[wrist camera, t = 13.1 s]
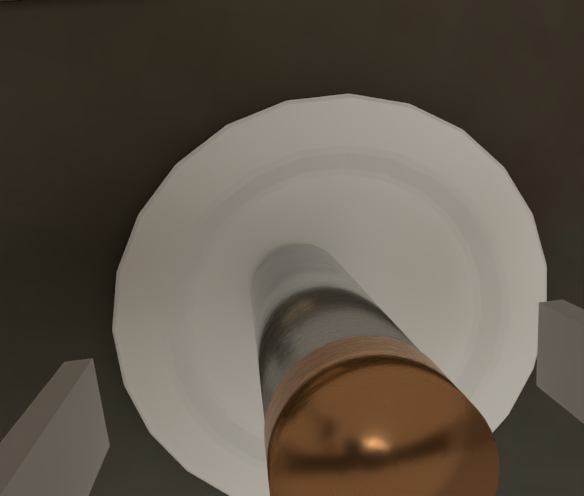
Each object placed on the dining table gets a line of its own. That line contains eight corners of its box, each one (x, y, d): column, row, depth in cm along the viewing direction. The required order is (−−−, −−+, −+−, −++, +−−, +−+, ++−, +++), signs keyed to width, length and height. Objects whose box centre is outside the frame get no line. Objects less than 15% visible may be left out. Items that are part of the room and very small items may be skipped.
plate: (604, 306, 26) (630, 318, 24) (325, 560, 27) (331, 587, 26) (345, -7, 21) (354, -20, 19) (24, 321, 22) (7, 335, 21)
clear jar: (255, 344, 22) (282, 603, 9) (244, 248, 21) (258, 394, 9) (350, 331, 23) (499, 564, 10) (344, 237, 22) (499, 361, 9)
